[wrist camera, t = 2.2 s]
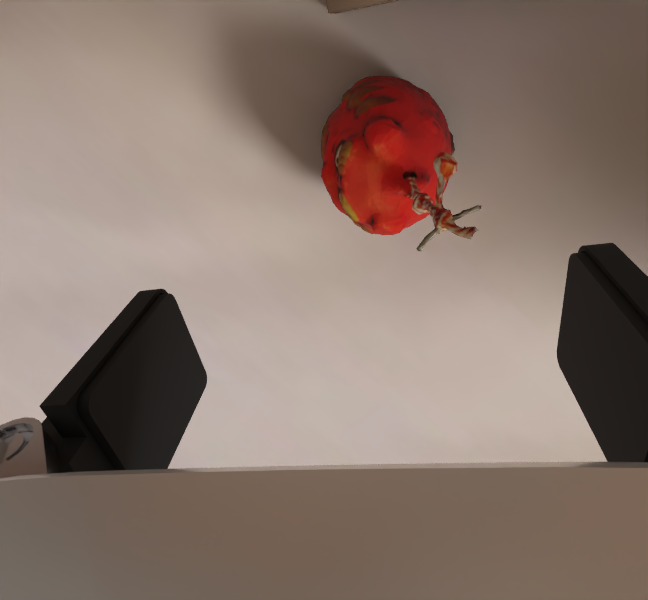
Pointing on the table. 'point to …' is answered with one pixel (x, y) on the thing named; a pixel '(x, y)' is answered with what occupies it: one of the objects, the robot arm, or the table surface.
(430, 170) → the red clay folk toy
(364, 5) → the display tray
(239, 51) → the table surface
